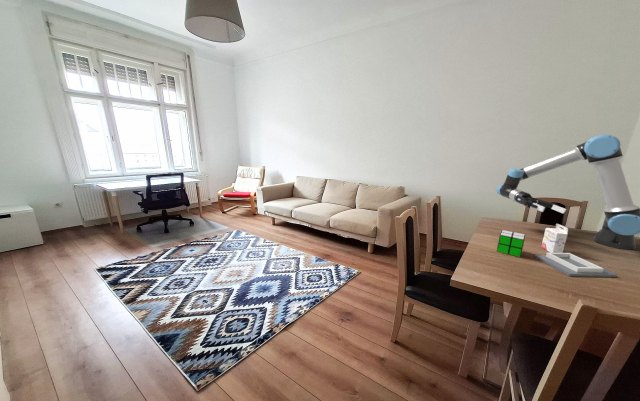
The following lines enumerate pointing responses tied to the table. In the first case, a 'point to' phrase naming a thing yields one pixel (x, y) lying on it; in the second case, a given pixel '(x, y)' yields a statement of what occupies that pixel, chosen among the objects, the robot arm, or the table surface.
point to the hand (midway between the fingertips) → (554, 210)
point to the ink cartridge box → (555, 239)
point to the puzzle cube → (511, 243)
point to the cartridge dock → (574, 265)
